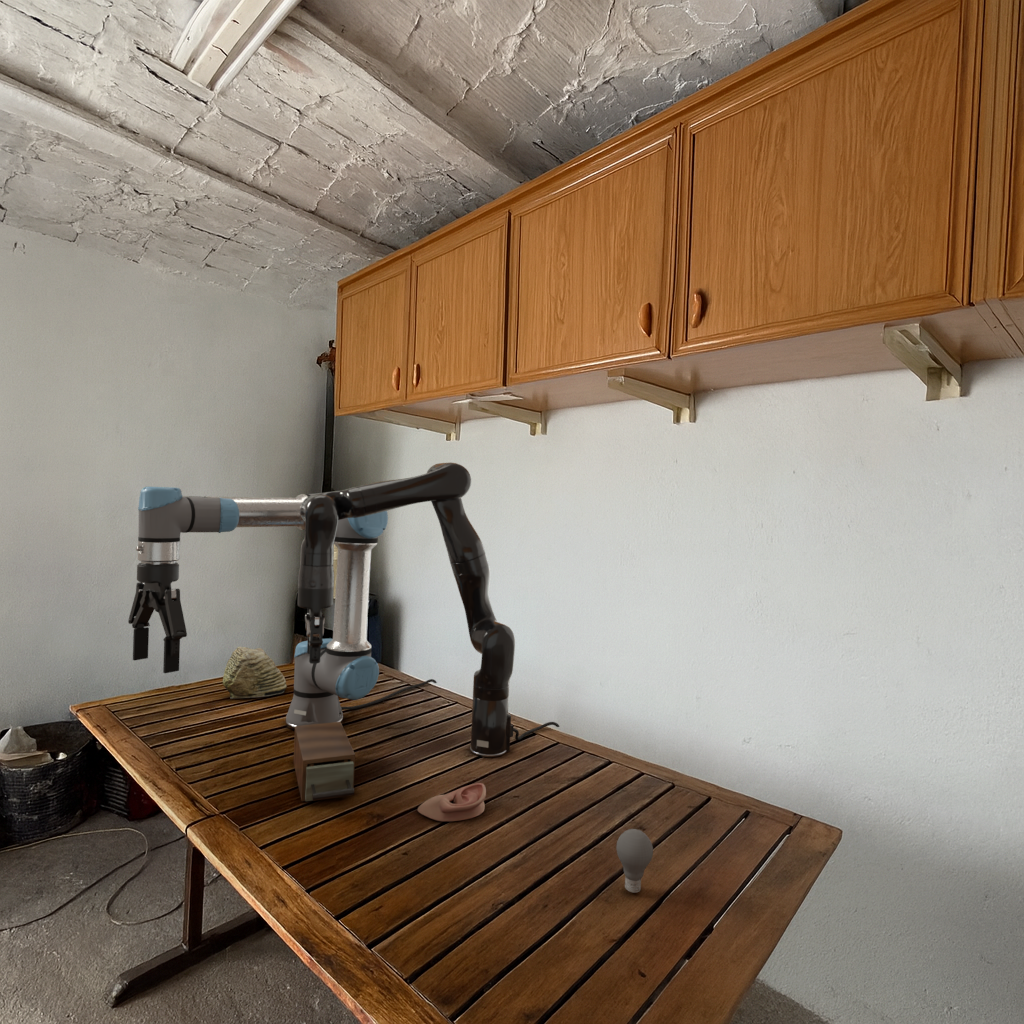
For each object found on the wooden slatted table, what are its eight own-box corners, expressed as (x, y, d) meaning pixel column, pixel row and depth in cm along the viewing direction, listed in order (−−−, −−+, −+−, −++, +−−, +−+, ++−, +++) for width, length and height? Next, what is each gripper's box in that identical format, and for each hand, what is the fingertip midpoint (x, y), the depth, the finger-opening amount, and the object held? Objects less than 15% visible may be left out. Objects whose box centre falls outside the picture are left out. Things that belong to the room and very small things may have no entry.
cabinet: (353, 794, 136) (355, 754, 135) (301, 801, 131) (303, 760, 131) (339, 756, 154) (340, 721, 154) (293, 762, 150) (294, 726, 150)
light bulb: (610, 879, 108) (613, 822, 108) (644, 879, 109) (647, 822, 109) (619, 902, 102) (622, 840, 102) (655, 901, 103) (658, 840, 103)
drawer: (357, 807, 128) (358, 774, 128) (308, 814, 124) (309, 780, 124) (339, 758, 151) (340, 730, 151) (297, 763, 147) (298, 735, 147)
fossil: (218, 695, 195) (220, 647, 195) (278, 685, 208) (279, 640, 207) (228, 703, 189) (230, 653, 188) (289, 692, 201) (290, 645, 201)
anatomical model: (412, 797, 126) (431, 773, 138) (411, 817, 126) (430, 791, 138) (476, 807, 124) (490, 781, 135) (476, 827, 124) (489, 800, 135)
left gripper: (112, 557, 134) (109, 657, 134) (168, 569, 119) (165, 681, 119) (149, 555, 140) (146, 651, 140) (207, 566, 125) (204, 673, 125)
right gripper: (336, 589, 134) (333, 665, 135) (331, 580, 148) (328, 649, 148) (299, 590, 132) (296, 667, 132) (297, 580, 145) (294, 651, 145)
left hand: (155, 665), depth 130 cm, fingers open, 13 cm apart
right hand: (313, 658), depth 140 cm, fingers open, 8 cm apart
